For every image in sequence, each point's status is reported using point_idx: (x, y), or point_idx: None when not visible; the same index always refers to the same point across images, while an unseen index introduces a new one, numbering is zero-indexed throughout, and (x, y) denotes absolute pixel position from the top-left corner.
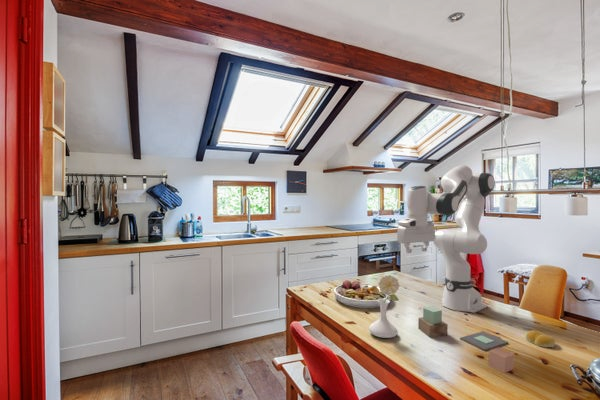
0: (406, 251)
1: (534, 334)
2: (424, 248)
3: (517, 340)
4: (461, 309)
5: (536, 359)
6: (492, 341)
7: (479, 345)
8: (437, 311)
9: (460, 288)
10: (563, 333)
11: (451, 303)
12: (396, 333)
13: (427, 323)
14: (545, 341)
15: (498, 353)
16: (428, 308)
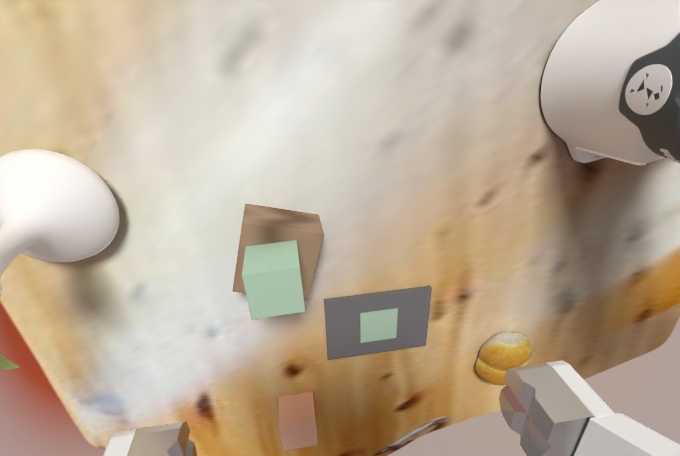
0: (110, 449)
1: (498, 366)
2: (531, 454)
3: (463, 336)
4: (558, 131)
5: (401, 397)
6: (388, 338)
7: (335, 344)
8: (277, 314)
9: (647, 145)
10: (603, 335)
11: (563, 95)
12: (96, 253)
13: (238, 276)
14: (487, 381)
15: (287, 438)
16: (262, 284)
